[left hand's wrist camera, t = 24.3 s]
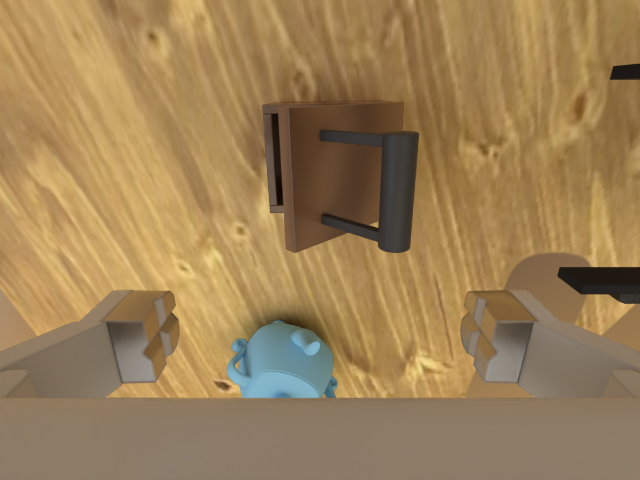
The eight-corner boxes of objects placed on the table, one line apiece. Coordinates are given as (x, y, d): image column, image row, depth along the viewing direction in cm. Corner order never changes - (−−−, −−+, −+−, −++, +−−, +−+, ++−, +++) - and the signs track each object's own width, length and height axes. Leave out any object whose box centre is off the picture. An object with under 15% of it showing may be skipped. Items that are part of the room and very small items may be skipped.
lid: (285, 249, 27) (376, 287, 21) (277, 107, 24) (384, 109, 18) (387, 211, 35) (473, 232, 30) (393, 102, 32) (492, 102, 26)
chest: (279, 191, 44) (269, 213, 36) (274, 102, 40) (262, 104, 32) (378, 189, 44) (391, 211, 36) (381, 100, 40) (397, 102, 32)
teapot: (258, 386, 55) (246, 456, 45) (226, 310, 49) (204, 371, 39) (340, 370, 54) (346, 438, 44) (317, 290, 48) (319, 347, 38)
